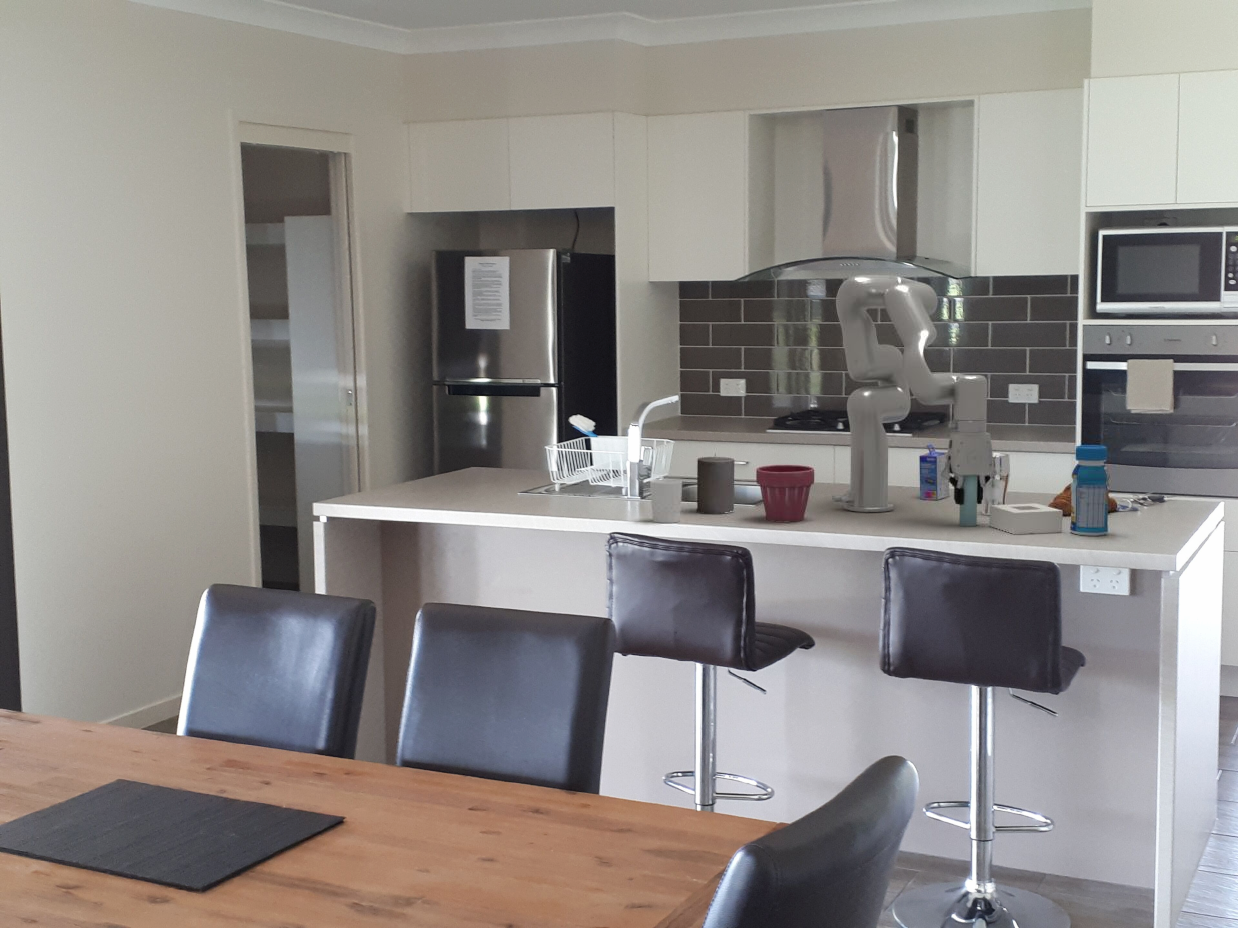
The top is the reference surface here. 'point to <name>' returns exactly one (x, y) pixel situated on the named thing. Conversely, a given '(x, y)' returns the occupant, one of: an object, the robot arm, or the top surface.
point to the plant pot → (785, 490)
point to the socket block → (1026, 518)
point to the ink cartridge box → (933, 475)
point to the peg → (969, 502)
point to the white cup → (666, 500)
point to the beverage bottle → (1090, 492)
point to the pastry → (1065, 499)
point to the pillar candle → (715, 485)
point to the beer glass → (997, 483)
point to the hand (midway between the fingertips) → (968, 502)
